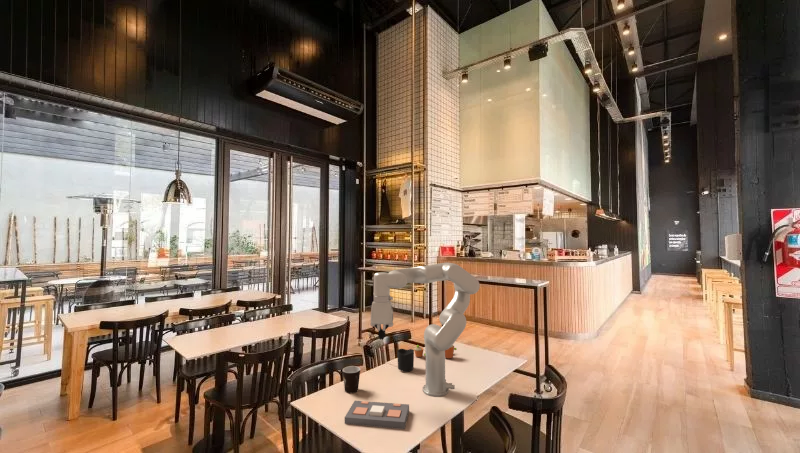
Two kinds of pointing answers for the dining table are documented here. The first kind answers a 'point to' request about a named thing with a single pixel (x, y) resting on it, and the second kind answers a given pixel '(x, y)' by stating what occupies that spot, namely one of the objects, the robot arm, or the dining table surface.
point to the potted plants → (419, 353)
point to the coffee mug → (351, 378)
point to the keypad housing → (378, 420)
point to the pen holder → (405, 359)
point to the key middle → (377, 411)
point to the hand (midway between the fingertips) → (381, 338)
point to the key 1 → (360, 411)
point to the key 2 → (394, 413)
